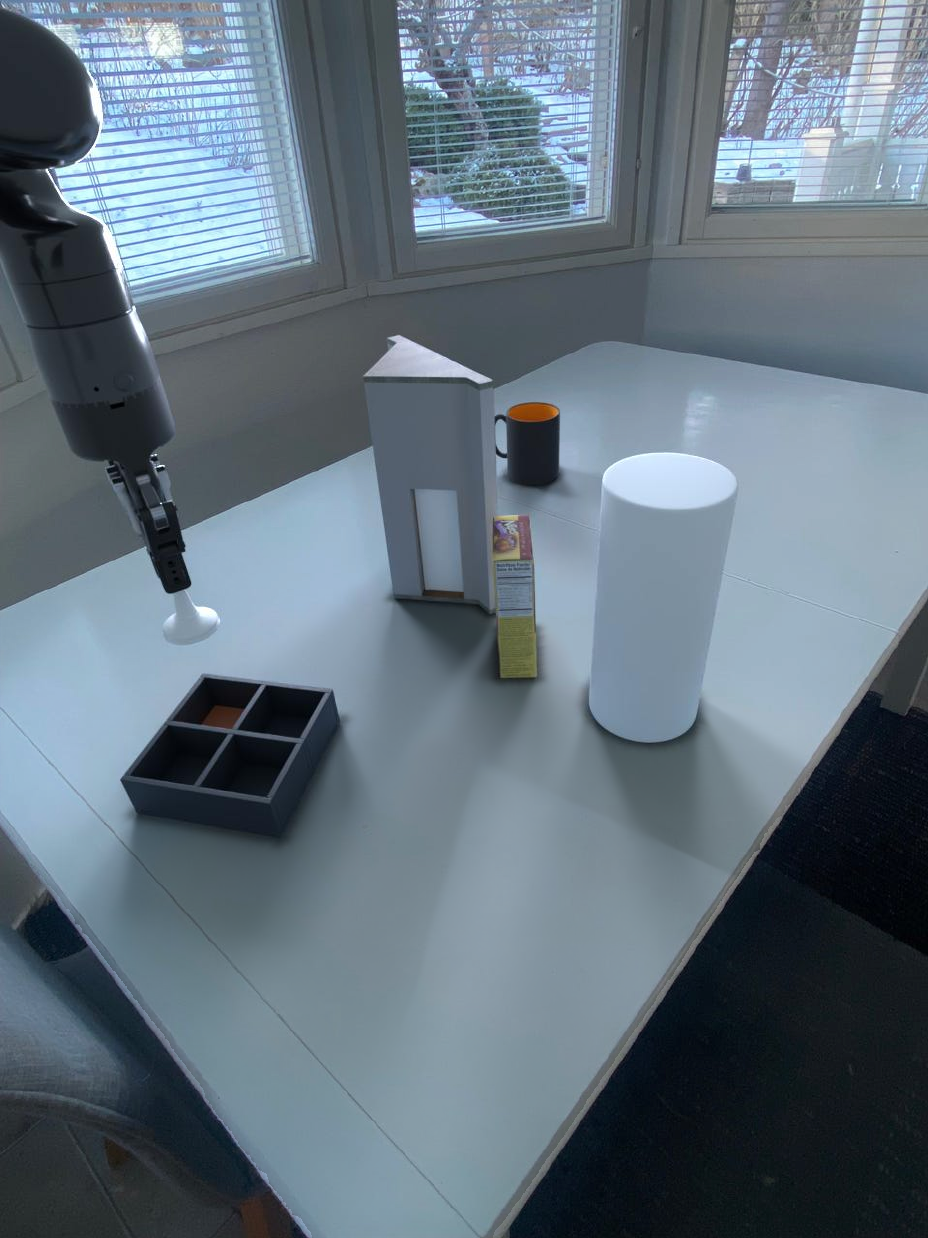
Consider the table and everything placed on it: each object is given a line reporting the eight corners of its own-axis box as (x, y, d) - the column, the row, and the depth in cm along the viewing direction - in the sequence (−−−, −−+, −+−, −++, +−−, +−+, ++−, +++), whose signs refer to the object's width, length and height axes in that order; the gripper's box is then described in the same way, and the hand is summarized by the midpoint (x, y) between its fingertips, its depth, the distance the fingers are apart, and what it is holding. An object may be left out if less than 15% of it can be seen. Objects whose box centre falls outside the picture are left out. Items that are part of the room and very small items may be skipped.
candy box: (497, 629, 85) (492, 514, 76) (533, 628, 85) (533, 512, 76) (496, 680, 78) (491, 559, 69) (537, 679, 78) (537, 558, 69)
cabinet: (501, 609, 88) (493, 380, 72) (431, 638, 85) (406, 402, 68) (420, 539, 103) (399, 334, 87) (358, 560, 100) (323, 351, 83)
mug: (504, 455, 124) (503, 395, 118) (568, 468, 119) (569, 406, 112) (478, 474, 119) (475, 412, 113) (543, 489, 113) (543, 425, 107)
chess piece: (193, 607, 68) (161, 511, 62) (231, 620, 66) (201, 522, 60) (152, 636, 65) (113, 538, 59) (190, 651, 63) (154, 551, 57)
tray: (280, 838, 63) (269, 804, 61) (136, 813, 67) (119, 779, 64) (340, 722, 75) (333, 688, 72) (214, 705, 78) (202, 673, 75)
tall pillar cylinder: (658, 659, 79) (687, 442, 65) (719, 723, 71) (768, 492, 56) (570, 686, 77) (579, 466, 62) (622, 756, 69) (647, 522, 54)
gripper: (36, 368, 56) (114, 561, 66) (61, 421, 46) (148, 638, 56) (137, 348, 58) (197, 536, 69) (180, 394, 49) (242, 605, 59)
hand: (174, 581), depth 62 cm, fingers closed on chess piece
